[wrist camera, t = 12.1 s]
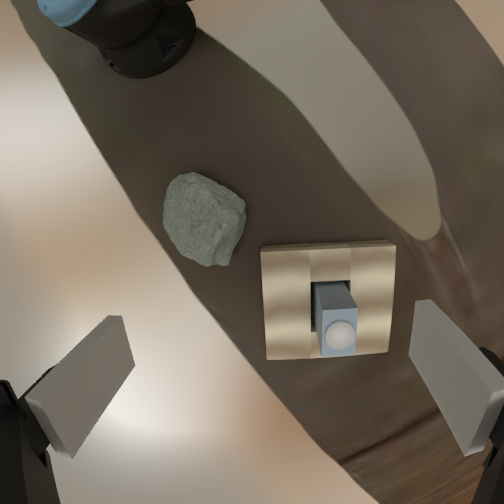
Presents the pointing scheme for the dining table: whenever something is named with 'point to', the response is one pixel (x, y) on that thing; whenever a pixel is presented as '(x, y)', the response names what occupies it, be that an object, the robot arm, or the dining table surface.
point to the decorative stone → (203, 219)
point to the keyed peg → (334, 318)
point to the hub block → (326, 269)
